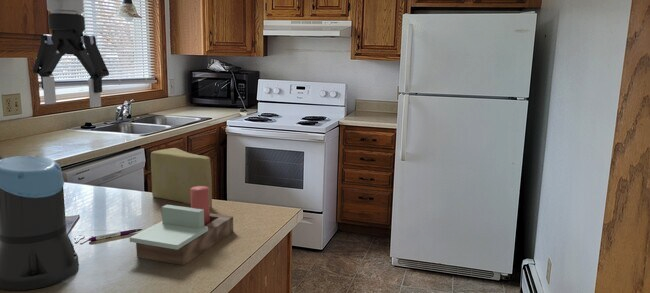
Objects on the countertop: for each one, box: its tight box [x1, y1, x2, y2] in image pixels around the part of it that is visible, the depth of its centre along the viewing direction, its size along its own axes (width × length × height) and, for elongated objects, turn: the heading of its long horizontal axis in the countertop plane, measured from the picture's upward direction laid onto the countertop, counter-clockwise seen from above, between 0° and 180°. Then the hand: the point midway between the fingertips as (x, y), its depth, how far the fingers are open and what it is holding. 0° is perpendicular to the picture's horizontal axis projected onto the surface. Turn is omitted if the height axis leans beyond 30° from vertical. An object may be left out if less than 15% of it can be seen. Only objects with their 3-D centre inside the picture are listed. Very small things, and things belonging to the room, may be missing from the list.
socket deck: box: [135, 212, 234, 266], centre depth 117 cm, size 22×12×4 cm, turn 162°
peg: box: [190, 186, 211, 225], centre depth 122 cm, size 4×4×12 cm
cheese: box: [150, 147, 213, 208], centre depth 150 cm, size 22×10×15 cm, turn 54°
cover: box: [129, 204, 208, 250], centre depth 110 cm, size 12×12×5 cm
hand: (72, 105), depth 118 cm, fingers open, 13 cm apart
